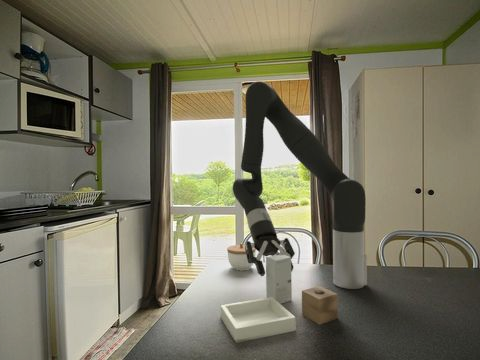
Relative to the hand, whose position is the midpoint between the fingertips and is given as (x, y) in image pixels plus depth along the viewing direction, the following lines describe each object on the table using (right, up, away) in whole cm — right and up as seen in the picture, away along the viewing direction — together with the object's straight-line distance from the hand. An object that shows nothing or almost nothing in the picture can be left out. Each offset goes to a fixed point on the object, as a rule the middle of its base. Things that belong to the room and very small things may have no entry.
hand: (277, 273), depth 83 cm
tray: (-7, -8, -14) cm, 17 cm away
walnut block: (+9, -7, -10) cm, 16 cm away
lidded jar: (-10, -7, +29) cm, 31 cm away
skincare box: (0, -8, -1) cm, 8 cm away
